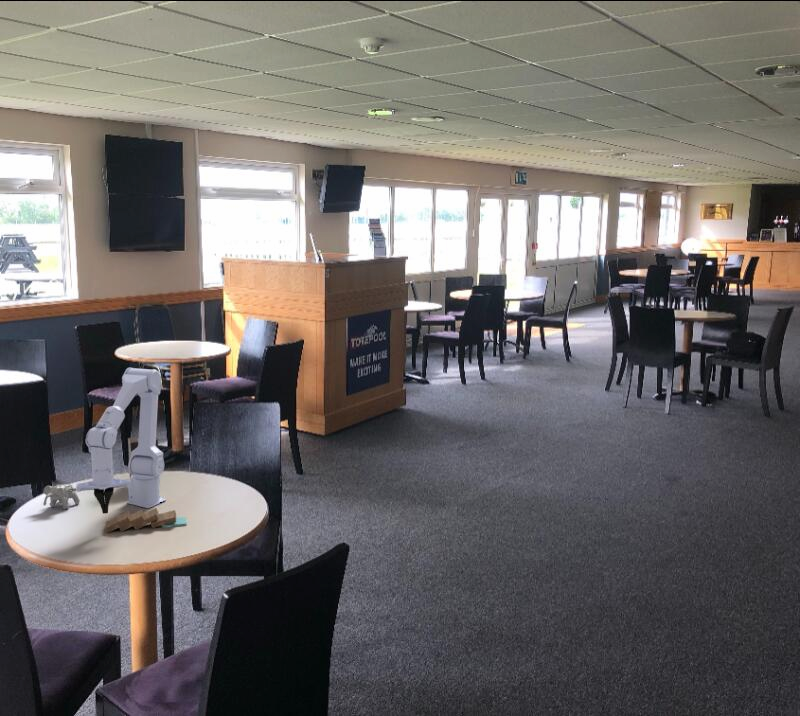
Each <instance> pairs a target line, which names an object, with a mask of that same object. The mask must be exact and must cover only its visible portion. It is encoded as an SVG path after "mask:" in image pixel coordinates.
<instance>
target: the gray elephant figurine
mask: <svg viewBox="0 0 800 716" xmlns="http://www.w3.org/2000/svg"><path fill="white" fill-rule="evenodd" d="M77 493H78V492H77V488H76V487H75V486H73V484H70V483H67V484H66V483H65V484H56V485H55V486H51V485H46V486H45V487H44V488H43V494H44V495H45V497H44V501H43V506H44V507H45V506H46V505H47V501H48V500H47V499H48V498H50V502H49V506H50V507H51V508H54V507H55V505H56V503H57V502H60V503H61V505H62V509H63V510H68V509H70V503H69V502H68V501H69V500H70V499H72V501H73V502H74V504H75V505H79V504H80V501H81V500H80V498H79V495H78V494H77Z"/></svg>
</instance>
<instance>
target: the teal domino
mask: <svg viewBox="0 0 800 716" xmlns="http://www.w3.org/2000/svg"><path fill="white" fill-rule="evenodd" d="M181 525H185V526H187V525H188V524H187V516H182V517H181V516H180V517H179V516H177V517H176V522H174V523H170V524H166V525H162V526H161V528H162V527H165V528H169V527H168V526H175V527H182V526H181Z"/></svg>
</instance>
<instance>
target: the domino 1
mask: <svg viewBox="0 0 800 716" xmlns="http://www.w3.org/2000/svg"><path fill="white" fill-rule="evenodd" d="M131 515H132V514H130V511H129V510H127V511H125V512H122V513H120V514H118V515H117V516H115V517H113V518H111V519H109V520H106V521H105V525H104V529H105V532H106V533H107V534H109V533H111V532H113V531H115V530H116V529H118V528H119V527H121V526H123V525H124V524H126V523H128V522H130V518H131ZM119 529H120V528H119Z"/></svg>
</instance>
